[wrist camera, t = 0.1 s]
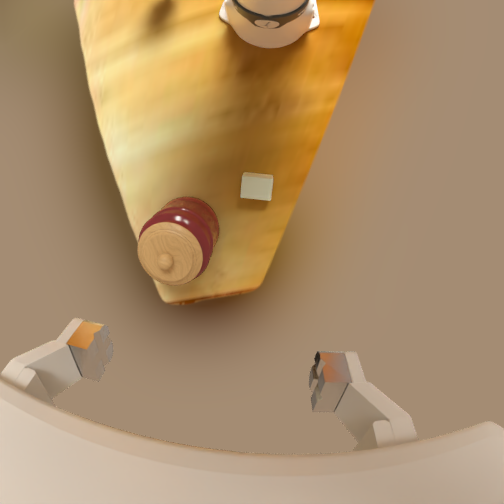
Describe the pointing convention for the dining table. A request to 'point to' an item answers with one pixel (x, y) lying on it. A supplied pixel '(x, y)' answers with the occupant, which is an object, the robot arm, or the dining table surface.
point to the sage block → (256, 186)
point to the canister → (178, 241)
